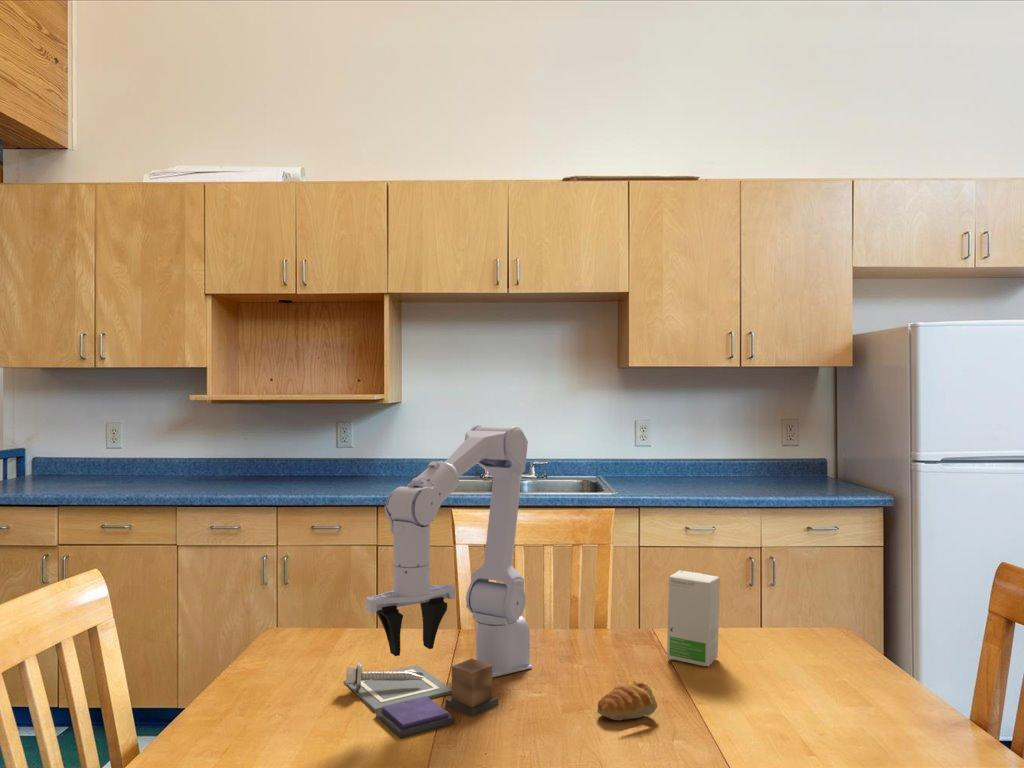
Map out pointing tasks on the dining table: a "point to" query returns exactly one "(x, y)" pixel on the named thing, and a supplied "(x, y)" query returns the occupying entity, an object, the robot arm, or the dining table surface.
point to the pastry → (628, 702)
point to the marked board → (400, 689)
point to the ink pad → (414, 716)
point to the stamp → (471, 688)
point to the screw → (378, 676)
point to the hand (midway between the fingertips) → (411, 650)
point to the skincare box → (693, 617)
